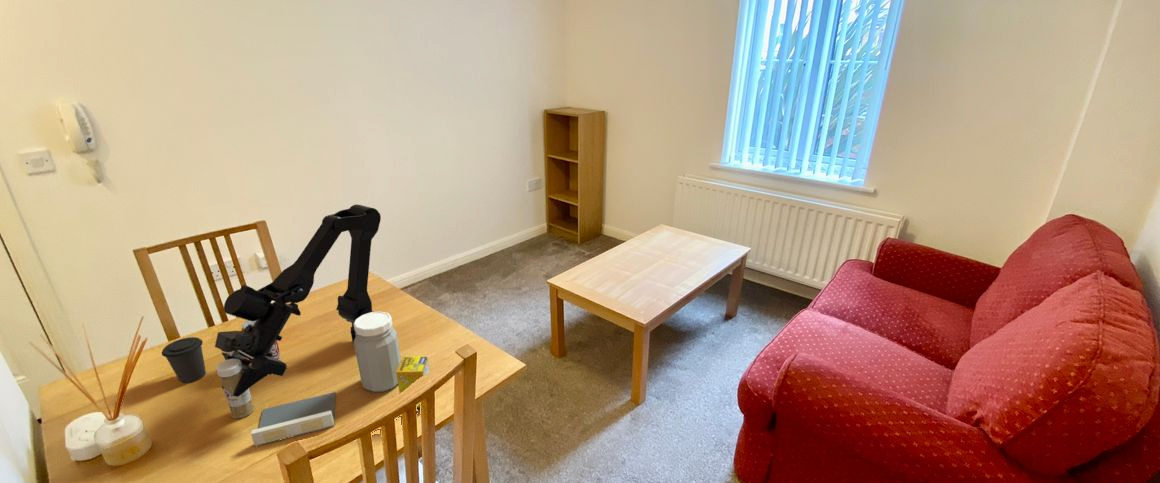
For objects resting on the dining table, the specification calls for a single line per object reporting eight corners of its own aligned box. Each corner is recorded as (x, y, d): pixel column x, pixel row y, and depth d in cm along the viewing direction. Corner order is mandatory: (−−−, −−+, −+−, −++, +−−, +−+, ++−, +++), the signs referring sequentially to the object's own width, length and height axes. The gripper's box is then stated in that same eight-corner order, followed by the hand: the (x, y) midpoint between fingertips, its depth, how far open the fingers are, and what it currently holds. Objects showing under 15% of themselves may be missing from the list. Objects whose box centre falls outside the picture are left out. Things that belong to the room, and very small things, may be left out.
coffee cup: (220, 370, 125) (209, 337, 121) (187, 390, 118) (175, 355, 114) (198, 364, 127) (186, 331, 124) (164, 382, 120) (151, 349, 117)
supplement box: (407, 393, 118) (402, 356, 113) (433, 392, 118) (428, 355, 114) (401, 411, 112) (395, 372, 108) (428, 409, 113) (422, 371, 108)
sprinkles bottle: (226, 418, 109) (210, 369, 104) (242, 404, 114) (227, 356, 108) (244, 420, 109) (229, 371, 104) (260, 406, 113) (245, 358, 108)
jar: (362, 374, 124) (350, 314, 117) (402, 365, 128) (393, 306, 121) (362, 398, 116) (349, 334, 109) (405, 388, 119) (395, 326, 113)
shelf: (335, 393, 118) (332, 381, 116) (333, 426, 107) (331, 414, 106) (263, 410, 112) (259, 398, 111) (254, 447, 102) (250, 434, 100)
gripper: (213, 305, 110) (171, 372, 105) (260, 328, 101) (216, 401, 97) (257, 319, 119) (220, 381, 114) (303, 341, 111) (266, 409, 106)
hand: (229, 392), depth 108 cm, fingers closed on sprinkles bottle, 4 cm apart
